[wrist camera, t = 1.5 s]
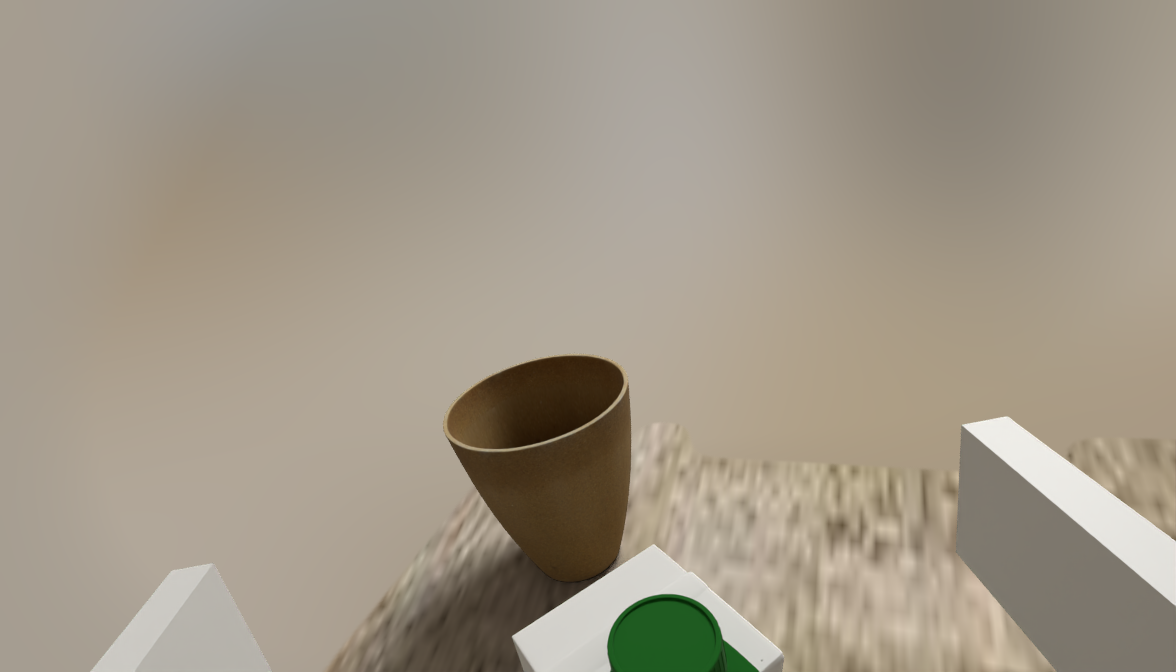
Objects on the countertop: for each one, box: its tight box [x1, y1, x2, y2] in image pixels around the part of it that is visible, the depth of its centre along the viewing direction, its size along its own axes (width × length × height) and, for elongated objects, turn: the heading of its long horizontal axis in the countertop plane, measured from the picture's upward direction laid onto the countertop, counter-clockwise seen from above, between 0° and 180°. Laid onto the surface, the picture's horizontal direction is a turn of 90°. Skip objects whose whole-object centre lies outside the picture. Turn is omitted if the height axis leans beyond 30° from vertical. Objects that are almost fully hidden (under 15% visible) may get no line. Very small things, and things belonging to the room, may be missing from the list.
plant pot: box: [443, 354, 631, 582], centre depth 52 cm, size 15×15×16 cm
